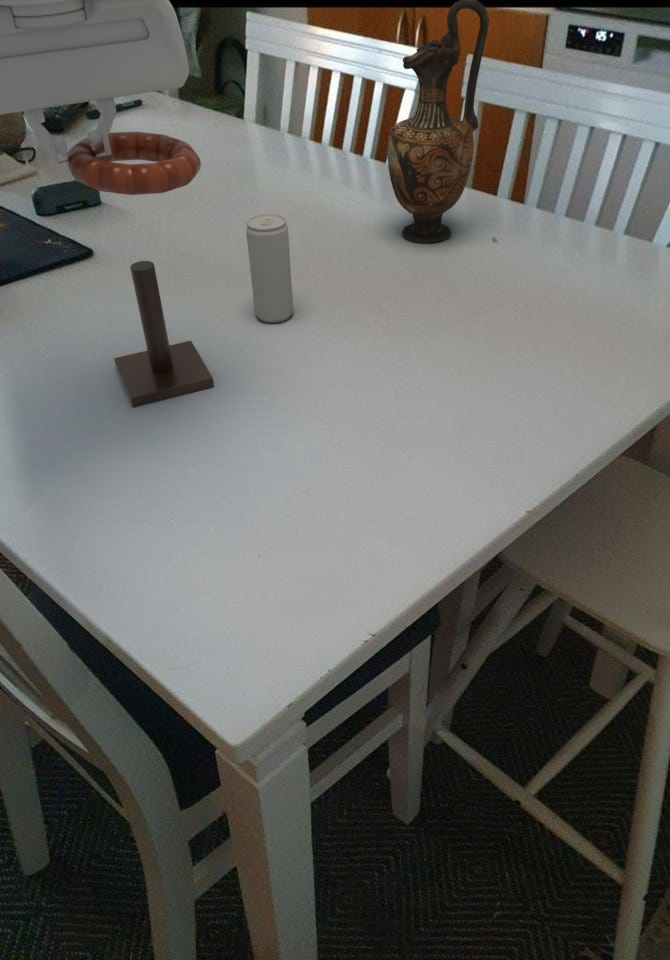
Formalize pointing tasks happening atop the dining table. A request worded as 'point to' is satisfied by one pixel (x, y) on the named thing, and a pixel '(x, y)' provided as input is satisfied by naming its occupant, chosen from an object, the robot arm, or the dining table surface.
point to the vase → (435, 134)
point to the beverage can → (270, 267)
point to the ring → (134, 179)
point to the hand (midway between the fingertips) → (81, 158)
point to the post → (158, 351)
